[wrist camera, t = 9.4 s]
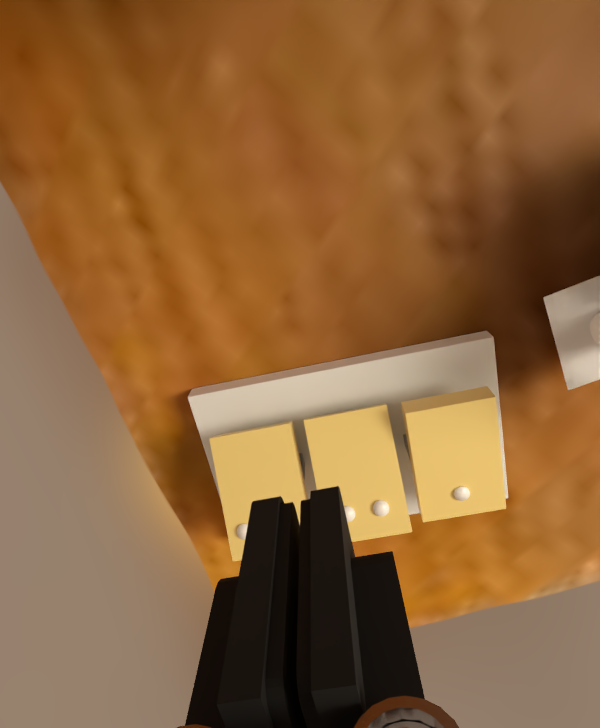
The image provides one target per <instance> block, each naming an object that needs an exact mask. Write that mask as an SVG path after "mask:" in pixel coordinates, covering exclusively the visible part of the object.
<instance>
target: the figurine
mask: <svg viewBox="0 0 600 728" xmlns="http://www.w3.org/2000/svg"><path fill="white" fill-rule="evenodd" d="M543 299H544V303H545V306H546V310H547V314H548V317H549V321H550V325H551V329H552V332H553V336H554V340H555V343H556V347H557V351H558V355H559V358H560V362H561V366H562V369H563V373H564V377H565V381H566V384H567V388H568V390H571V389H574V388H577V387H579V386H582V385H585V384H588V383H591V382H593V381H596V380H599V379H600V276H597V277H595V278H592V279H589V280H587V281H584V282H582V283H579V284H576V285H574V286H571V287H569V288H566V289H564V290H561V291H558V292H556V293H553V294H551V295H548V296H545V297H543Z"/></svg>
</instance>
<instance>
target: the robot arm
mask: <svg viewBox="0 0 600 728" xmlns="http://www.w3.org/2000/svg"><path fill="white" fill-rule="evenodd" d="M177 728H459V727H458V725H457V724H456V722H455V720H454V719H452V718H451V717H450V716H449V715H448V714H447V713H446V712H445V711H444V710H443V709H442V708H441V707H439V706H437V705H435V704H433V703H431V702H429V701H427V700H425V698H424V694H423V689H422V684H421V680H420V675H419V671H418V666H417V662H416V657H415V652H414V648H413V644H412V639H411V634H410V630H409V625H408V620H407V616H406V611H405V607H404V602H403V598H402V593H401V588H400V584H399V579H398V575H397V570H396V566H395V561H394V556H393V552H392V551H391V552H385V553H379V554H373V555H367V556H361V557H355V554H354V549H353V545H352V541H351V536H350V532H349V527H348V523H347V518H346V514H345V509H344V505H343V500H342V496H341V492H340V488H339V486H336V487H331V488H325V489H319V490H313V491H311V492H310V499H307V500H301V506H300V524H299V520H298V516H297V513H296V509H295V505H294V503H293V502H290V503H284V501H283V499H282V497H281V496H279V497H273V498H268V499H262V500H256V501H253V502H252V504H251V509H250V515H249V521H248V527H247V532H246V538H245V544H244V550H243V555H242V561H241V567H240V573H239V576H237V577H231V578H225V579H220V581H219V582H218V584H217V587H216V590H215V594H214V599H213V603H212V607H211V612H210V617H209V621H208V626H207V630H206V635H205V639H204V643H203V648H202V652H201V657H200V661H199V666H198V670H197V675H196V679H195V683H194V688H193V693H192V697H191V701H190V706H189V711H188V715H187V719H186V724H185V726H180V727H177Z"/></svg>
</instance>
